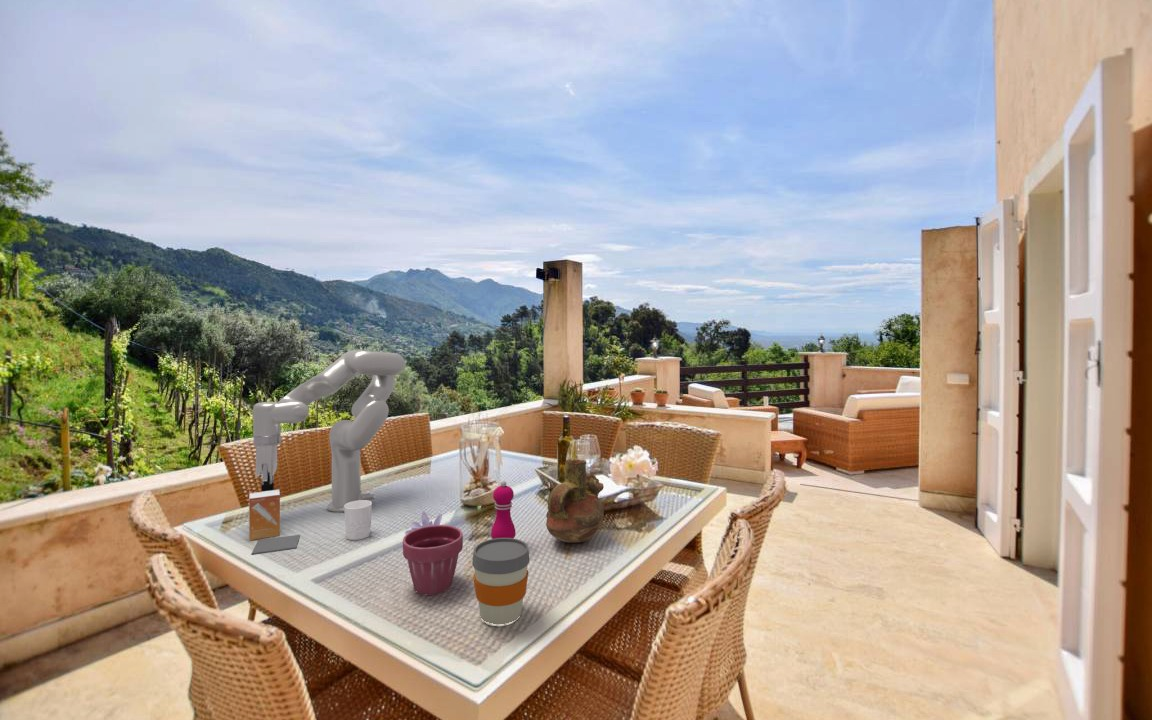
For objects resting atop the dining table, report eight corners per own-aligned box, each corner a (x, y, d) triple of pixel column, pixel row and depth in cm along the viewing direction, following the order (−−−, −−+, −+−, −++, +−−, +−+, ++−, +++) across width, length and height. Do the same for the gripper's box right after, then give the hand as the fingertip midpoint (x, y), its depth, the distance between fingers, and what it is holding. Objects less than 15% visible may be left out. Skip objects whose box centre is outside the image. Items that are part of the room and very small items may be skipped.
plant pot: (423, 608, 110) (423, 552, 110) (391, 587, 119) (391, 536, 119) (474, 584, 121) (474, 534, 120) (441, 567, 130) (441, 520, 130)
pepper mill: (519, 545, 145) (520, 478, 144) (508, 554, 138) (508, 485, 137) (498, 541, 147) (498, 476, 147) (486, 551, 140) (486, 482, 140)
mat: (300, 535, 150) (300, 534, 150) (296, 548, 141) (296, 547, 141) (258, 541, 146) (258, 540, 146) (251, 554, 136) (251, 553, 136)
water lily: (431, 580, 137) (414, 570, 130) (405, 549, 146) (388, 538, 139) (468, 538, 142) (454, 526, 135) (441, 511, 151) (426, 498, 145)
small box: (249, 541, 146) (248, 498, 145) (249, 534, 151) (248, 492, 151) (280, 535, 150) (280, 494, 150) (279, 528, 155) (279, 488, 155)
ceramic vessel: (621, 531, 156) (623, 454, 155) (575, 560, 135) (576, 471, 134) (578, 520, 166) (579, 447, 165) (528, 545, 145) (529, 462, 144)
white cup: (377, 533, 152) (377, 502, 152) (356, 543, 145) (356, 510, 145) (359, 529, 156) (359, 498, 155) (338, 538, 149) (338, 506, 148)
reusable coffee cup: (488, 596, 115) (488, 534, 115) (537, 605, 112) (538, 541, 111) (461, 625, 103) (461, 556, 103) (515, 636, 100) (515, 565, 99)
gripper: (258, 436, 163) (258, 490, 164) (248, 445, 150) (249, 504, 150) (283, 435, 166) (284, 488, 167) (276, 443, 153) (277, 501, 153)
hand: (267, 495), depth 159 cm, fingers closed
